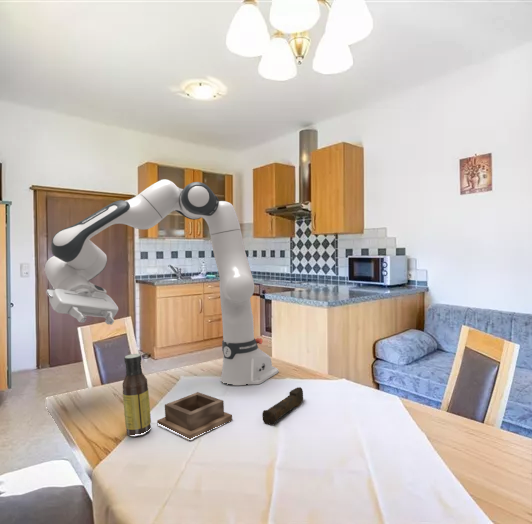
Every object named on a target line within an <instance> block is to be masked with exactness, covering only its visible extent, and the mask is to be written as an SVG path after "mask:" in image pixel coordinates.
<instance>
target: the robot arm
mask: <svg viewBox="0 0 532 524" xmlns="http://www.w3.org/2000/svg"><path fill="white" fill-rule="evenodd" d="M172 212H176V213H178V214H180V215H182V216H183V217H184V218H185V219H188V220H194V221H195V220H199V219H203V220H205V222H206V224H207V227H208V230H209V236H210V242H211V245H212V246H211V247H212V251H213V256H214V257H213V258H214V260H215V264H216V268H217V271H218V276H219V297H220V307H221V308H220V309H221V319H222V323H221V324H222V338H223V339H222V342H221V343H222V345H221V346H222V354H223V355H222V357H223V358H222V367H221V376H220V379H221V381H222V382H224V383H227V384H226V385H228V384H233V385H232V386H247V385H246V384H248V385H261V384H262V383H264V382H266V381H267V380H269V379H270V378H272V377H273V376H275V375H276V374H278V373H279V372H280V370H279V369H278V368H277V367H275V366H273V363H272V358H271V356H270V355H269V354H267V353H266V352H264V351H263V350H262V349H260V348H259V346H258V345H262V344H263V339H262V338H259V337H257V338H255V333H254V332H255V330H254V329H255V328H254V327H255V326H254V314H253V309H252V302H251V298H252V297H253V295H254V292H255V282H254V278H253V274H252V270H251V265H250V263H249V260H248V257H247V254H246V250H245V245H244V239H243V234H242V230H241V229H242V228H241V225H240V221H239V217H238V214H237V212H236V210H235V206H234V205H233V204H232V203H231V202H228V201H225V200H219V198H218V196H217V195H216V194H215V193H214V191H213V190H212V189H211V188H210V187H209V186H208V184H205V183H204V182H201V181H193V182H191V183H188V184H186V185H185V187H184V188H180V187H178V186H177V185H176V184H175V183H174V182H173V181H172V180H169V179H160V180H158V181H157V182H155V183H152V184H151V185H150V186H148V187H146V188H145V189H144V190H142V191H141V192H139V194H137V195H136V196H134V197H131V198H130V199H127V200H122V199H120V200H116V201H114V202H112V203H109V204H108V205H105V206H103V207H102V208H100V209H99V210H97V211H95V212H94V213H93V214H91V215H88V216H87V217H85V218H83V219H82V220H79V222H77V223H75V224H73V225H70V226H68V227H65V228H62V229H61V230H59V231H58V232H56V233H55V234H54V236H53V237H52V240H51V245H50V247H51V248H50V250H51V253H52V255H53V256H51V257H50V258H48V260H47V261H46V262H45V265H44V273H45V276H46V278H47V280H48V281H49V283H50V285H51V286H52V288H51V287H49V288H48V289H46V290H45V293H46V295H47V296H48V300H49V305H50V306H51V308H52V310H53V311H54V312H56V313H57V314H66V315H67V314H68V315H69V316H71V317H73V318H74V319H76V320H77V322H78V323H85V322H86V321H87V319H88V317H95V318H96V317H97V318H104V319H105V320H104V322H105V324H106V325H113V324H114V322H115V319H114V318H115V317H116V315H117V314H118V312H119V307H118V305H117V304H116V302H115V301H114V299H113V298H112V297H111V296H110V295H108V294H107V292H108V291H107V289H105V288H104V287H101V286H99V285H96V284H95V283H92V282H90V281H91V280H92V279H94V278H96V277H98V276H99V275H100V274H101V273H102V272H103V271H104V270H105V269H106V266H107V264H108V256H107V253H105V252H104V251H103V250H102V249H101V248H100V247H99V246H98V245H96V244H95V243H94V242H93V241H92V240H91V239H92V238H93V237H94V236H96V235H98V234H99V233H101V232H102V231H104V230H106V229H107V228H110V227H111V226H112V225H117V224H119V225H120V224H121V225H127V226H128V227H132V228H133V229H138V230H149V229H151V228H154V227H155V226H156V225H158V224H159V223H160V222H161V221H162V220H163V219H165V218H166V217H167V216H168V215H170V214H171V213H172ZM221 381H220V382H221ZM222 382H221V383H222ZM224 383H223V384H224Z"/></svg>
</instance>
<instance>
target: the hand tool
mask: <svg viewBox="0 0 532 524" xmlns="http://www.w3.org/2000/svg"><path fill="white" fill-rule="evenodd" d="M303 401H304V391H303V388H302V387H300V386H299V387H298V386H297V387H295V388H294V389H291V390H290V391H289V394H288V396H285V397H284V398H283V399H282V400H280V401H279V402H277V403H276V404H274V405H272V406H271V407H270V408H268V409H265V410H263V411H262V417H261V418H262V421H263V423H264V424H266V425H269V426H274V425H275V423H278V420H279V419H281V418H282V417H283V416H285V415H286V414H287V413H289V412H290V411H291V410H292V409H294V408H298V407H300V405H301V404H302V403H303Z"/></svg>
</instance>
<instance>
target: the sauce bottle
mask: <svg viewBox="0 0 532 524" xmlns="http://www.w3.org/2000/svg"><path fill="white" fill-rule="evenodd" d="M124 364H125V373H126V374H125V378H124V379H123V382H122V400H123V402H122V403H123V412H124V413H123V415H124V423H125V429H126V431H125V432H126V435H127V436H128V435H135V434H141V433H144V432H146V431H148V430H149V429H150V428H151V429H152V427H151V426H152V424H151V423H152V418H151V406H150V403H151V402H150V394H149V387H148V379H147V377H146V376H145V374H144V373H143V371H142V370H143V369H142V354H140V353H131V354H127V355H125V356H124ZM151 429H150V430H151Z"/></svg>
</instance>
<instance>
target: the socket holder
mask: <svg viewBox="0 0 532 524" xmlns="http://www.w3.org/2000/svg"><path fill="white" fill-rule="evenodd" d="M224 403H225V402H224V400H223V399H220V398H216V397H213V396H211V395H208V394H205V393H202V392H199V391H197V392H194V393H191V394H189V395H186V396H183V397H181V398H178V399H176V400H173V401H170V402H169V403H166V404H164V417H162V418H160V419H157V423H159V424H161V425H163V426H165V427H167V428H169V429H171V430H173V431H175V432H177V433H179V434H181V435H183V436H185V437H187V438H189V439H191V438H193V437H195V436H198V435H200V434H202V433H204V432H207V431H209V430H211V429H213V428H215V427H218V426H220V425H222V424H224V423H226V422H228V423H230V422H232V421H233V414H231V413H228V412H225V404H224ZM231 420H232V421H231ZM229 421H230V422H229ZM157 423H156V424H157ZM226 424H227V423H226ZM224 425H225V424H224ZM222 426H223V425H222ZM220 427H221V426H220ZM218 428H219V427H218Z"/></svg>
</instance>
